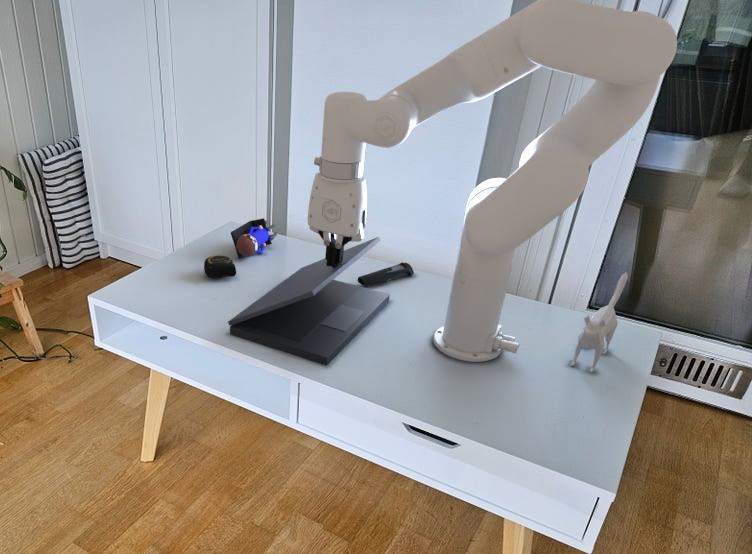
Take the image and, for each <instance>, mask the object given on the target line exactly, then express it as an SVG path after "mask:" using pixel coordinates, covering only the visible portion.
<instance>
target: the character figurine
mask: <svg viewBox="0 0 752 554" xmlns="http://www.w3.org/2000/svg"><path fill="white" fill-rule="evenodd" d="M268 224H269V223H268V220H265V218H258V219H253V220H248V222H245V223H244V224H242V225H241V226H239V227H237V228H236V229H233V230H232V231H231V232H230V236H231V239H232V242H233V245H234V248H235V252H236V254H237V257H238V260H241V259H243V258H244V257H251V256H254V254H255V253H258V254H260V255H262V254H264V250H265V248H266V246H269V245H270V246H271V245H273V244H272V241H273V240H275V238H276V237H277V236H278V233H277V232H274V233H272V234H270V233H269V231H271V230H273V229H274V228H275V227H276V224H271V225H270V226H267V225H268ZM259 247H260V249H259Z"/></svg>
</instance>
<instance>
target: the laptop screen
mask: <svg viewBox="0 0 752 554" xmlns="http://www.w3.org/2000/svg"><path fill="white" fill-rule="evenodd" d="M381 241H382V240H381V238H380V236H377V237H374V238H372V239H370V240H367V241H365V242H361V243H360V244H357V245H354V246H352V247H349V248H347V249H344V253H343V260H342V262H341V263H340V264H339V265H337V266H336V267H335V268H333V267H331V266H330V267H329V266H326V263H327V260H326V259H325V258H323V259H319V260H318V261H315V262H312V263H310V264H308V265H305V266H303V267H300V268H299V269H297V271H295V272H294V273H292V274H290V276H288V277H286V279H284V280H283V281H281V282H280V283H279V284H277V285H276V286H275V287H273V288H272V289H271V290H269V291H268V292H266V293H265V294H264V295H262V296H261V297H259V298H258V299H257V300H255V301H254V302H253V303H252V304H250V305H249V306H247V307H245V308H244V309H243V310H242V311H240V312H239V313H238V314H236V315H235V316H234V317H233V318H231V319H230V320H228V321H227V324H228V326H229V327H230V326H231V325H234V324H236V323H239V322H242V321H245V320H248V319H250V318H253V317H256V316H259V315H261V314H264V313H267V312H270V311H272V310H275V309H278V308H281V307H284V306H286V305H289V304H292V303H295V302H297V301H300V300H303V299H306V298H308V297H311V296H314V295H315V294H316V293H317V292H319V291H320V290H321V289H322V288H324V287H325V286H326V285H327V284H328V283H330V282H331V281H332V280H335V279H336V278H337V277H338V276H340V275H341V274H342V273H343V272H344V271H346V270H347V269H348V268H349V267H350V266H352V265H353V264H354V263H356V261H358V260H359V259H360V258H361V257H362V256H364V255H366V253H367V252H368V251H370V250H372V248H373V247H375V246H376V245H377V244H378V243H379V242H381Z"/></svg>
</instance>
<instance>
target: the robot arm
mask: <svg viewBox="0 0 752 554" xmlns="http://www.w3.org/2000/svg"><path fill="white" fill-rule="evenodd" d="M677 49H678V37H677V33H676V31H675V28H674V27H673V26H672V24H670V22H668V20H666V19H665V18H663V17H660V16H658V15H656V14H654V13H651V12H648V11H644V10H633V11H628V10H622V9H618V8H613V7H608V6H602V5H599V4H593V3H589V2H586V1H582V0H535V1H534V2H532V3H531V4H528V5H527V6H525V7H524V8H522V9H520V10H519V11H517V12H516V13H514V14H512V15H510V16H508V18H506V19H504V20H502V21H501V22H500V23H498V24H496V25H495V26H493V27H491V28H489V29H488V30H486V31H485V32H483V33H481V34H479V35H478V36H476V37H475V38H473V39H471V40H469V41H468V42H466V43H464V44H463V45H461V46H460V47H458V48H456V49H455V50H453V51H451V52H450V53H448V54H447V55H446V56H445V57H444V58H442V59H441V60H438V61H437V62H436V63H433V64H431V66H429V67H428V68H425V69H424V70H422V71H421V72H419V73H417V74H416V75H414V76H412V77H410V78H409V79H407V80H406V81H404V82H403V83H401V84H399V85H397V86H395V87H394V88H392V89H391V90H389V91H388V92H386V93H385V94H383V95H382V96H381V97H380V98H379V99H375V100H374V99H372V100H371V99H369V98H368V97H367V96H366V94H365V95H364V94H363V93H360V92H353V91H335V92H332V93H330V94H328V95H327V96H326V98H325V100H324V106H323V122H322V137H321V152H320V156H318V157H315V158H314V161H313V164H314V165H315V166H318V168H319V169H318V171H319V172H316V173H315V175H314V178H313V181H312V186H311V191H310V195H309V202H308V210H307V225H308V226H309V230H310V231H312V232H313V233H315V234H318V235H319V236H320V238H321V239H322V241H323V244H324V246H325V256H324V257H325V258H324V259H326V260H327V263H326V266H329V267H330V266H331V267H333V268H335V267H336V266H337V265H339V264H340V263H341V262H342V260H343V253H344V250H345V245H347V244H348V243H350V242H353V243H354V242H355V243H356V242H362V241H363V240H364V239H365V232H364V230H365V228H366V223H367V212H368V211H367V210H368V191H367V183H366V181H367V180H366V177H364V176H363V175H364V174H363V173H364V163H365V154H366V153H365V152H366V144H368V145H372V146H374V147H379V148H385V149H389V148H395V147H398V146H400V145H401V144H402V143H404V142H405V141H406V139H407V138H408V137H409V135H410V134H411V132H412V130H413V129H414V128H416V127H417V126H419V125H421V124H423V123H425V122H426V121H427V120H430V119H431V118H433V117H435V116H436V115H438V114H440V113H442V112H445V111H446V110H448V109H451V108H453V107H455V106H458V105H461V104H467V103H475V102H478V101H480V100H483V99H486V98H487V97H489V96H491V95H493V94H494V93H496V92H498V91H500V90H502V89H503V88H505V87H507V86H508V85H511V84H513V83H514V82H516V81H517V80H520V79H522V78H523V77H526V76H527V75H529V74H530V73H533V72H535V71H536V70H539V69H540V68H542V67H543V68H545V69H549V70H552V71H553V70H554V71H557V72H561V73H565V74H568V75H574V76H576V77H577V76H578V77H581V78H582V77H583V78H587V79H591V80H594V83H593V84H592V85H591V87H590V88H589V90H588V91H587V92H585V94H584V95H583V96H582V97H581V98H580V99H579V100H578V101H577V102H576V103H575V104H574V105H573V106H572V107H571V108H570V109H569V110H567V112H566V113H564V114H563V115H562V116H561V117H560V118H558V120H556V121H555V122H554V123H553V124H552V125H550V126H549V127H548V128H547V129H546V130H545V131H543V132H542V133H541V134H539V135H538V137H536V138H535V139H533V140H532V141H531V142H530V143H529V144H528V145H526V147H525V148H524V149H523V152H522V154H521V156H520V159H519V163H518V164H519V165H518V168H517V169H516V170H515V171H513V172H512V173H511V174H510V175H509V176H508V177H506V178H504V177H494V178H489V179H486V180H484V181H483V182H480V183H479V184H478V185H476V187H475V188H474V189H473V191H472V192H471V193H470V195H469V197H468V199H467V202H466V205H465V212H464V218H463V225H462V229H461V230H462V231H461V236H460V242H459V247H458V252H457V256H456V262H455V267H454V271H453V277H452V282H451V288H450V293H449V298H448V304H447V310H446V315H445V319H444V325H443V326H441V327H439V328H438V329H436V330H435V332H434V333H433V338H432V339H433V345H434V346H435V347H436V349H438V350H439V351H440V352H441V353H443V354H444V355H446V356H448V357H450V358H453V359H456V360H459V361H464V362H470V363H480V362H481V363H483V362H489V361H491V360H494V359H496V358H498V356H500V354H501V353H502V351H506V352H509V353H512V354H517V353H518V350H519V348H520V343H519V342H516V337H515V336H512V335H507V334H503V333H504V332H502V331H501V330H502V325H501V324H499V323H500V320H501V316H502V311H503V308H504V303H505V298H506V294H507V290H508V286H509V282H510V278H511V275H512V272H513V271H512V270H513V267H514V263H515V258H516V254H517V249H518V248H519V247H520V246H522V245H523V244H525V243H526V242H527V241H529V239H531V238H532V237H534V236H535V235H536V234H537V233H538V232H540V231H542V230H543V229H544V228H545V227H546V226H547V225H548V224H550V223H551V222H553V221H554V220H555V219H556V218H558V217H559V216H560V215H561V214H563V213H564V212H565V211H567V209H569V208H570V207H571V206H572V205H573V204H574V203H575V202H576V201H577V200H578V198H580V197H581V195H582V193H583V192H584V190H585V188H586V186H587V183H588V181H589V176H590V175H589V174H590V166H591V165H592V164H593V163H594V162H595V161H597V160H598V159H599V158H601V156H603V155H604V154H605V153H606V152H607V151H609V150H610V148H612V147H613V146H614V145H615V144H616V143H617V142H619V140H621V139H622V138H623V137H624V136H625V135H626V134H627V133H628V132H629V131H631V129H632V128H634V126H635V125H636V124H637V123H638V122H639V121H640V119H641V118H642V117H643V116H644V114H645V112H646V111H647V110H648V108H649V106H650V105H651V102H652V100H653V98H654V96H655V93H656V91H657V88H658V85H659V83H660V78H661V76H662V74H664V73H665V72H666V71H667V70H668V69H669V67H670V66H671V64H672V62H674V61H673V60H674V58H675V56H676V54H677Z"/></svg>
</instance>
